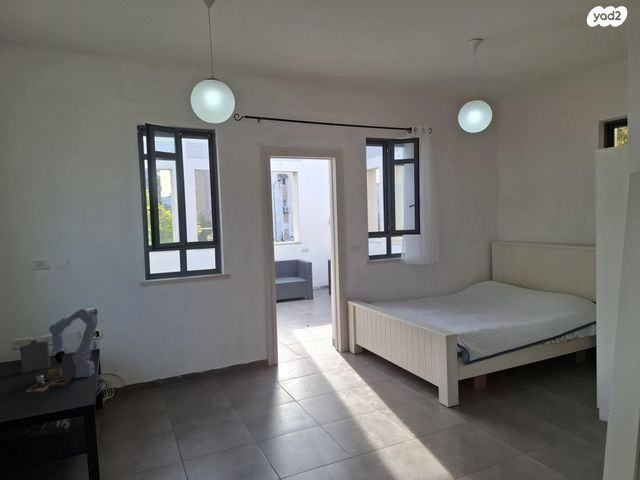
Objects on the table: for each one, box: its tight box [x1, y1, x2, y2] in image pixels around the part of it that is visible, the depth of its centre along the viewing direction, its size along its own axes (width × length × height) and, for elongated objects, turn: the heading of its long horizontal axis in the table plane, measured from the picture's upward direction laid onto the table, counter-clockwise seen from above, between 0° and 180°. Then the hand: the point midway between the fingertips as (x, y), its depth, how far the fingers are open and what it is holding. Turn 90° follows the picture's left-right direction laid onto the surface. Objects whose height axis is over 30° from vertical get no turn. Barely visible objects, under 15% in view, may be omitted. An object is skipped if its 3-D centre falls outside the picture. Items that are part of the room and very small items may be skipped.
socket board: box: [26, 380, 55, 393], centre depth 249 cm, size 9×12×2 cm
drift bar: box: [29, 368, 63, 389], centre depth 255 cm, size 20×8×4 cm, turn 4°
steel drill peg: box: [36, 374, 45, 385], centre depth 249 cm, size 4×4×7 cm
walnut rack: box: [50, 378, 72, 388], centre depth 253 cm, size 8×8×2 cm
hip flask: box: [19, 339, 51, 374], centre depth 284 cm, size 16×4×20 cm, turn 132°
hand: (59, 363), depth 270 cm, fingers closed
